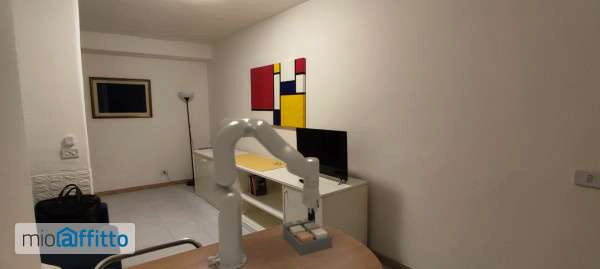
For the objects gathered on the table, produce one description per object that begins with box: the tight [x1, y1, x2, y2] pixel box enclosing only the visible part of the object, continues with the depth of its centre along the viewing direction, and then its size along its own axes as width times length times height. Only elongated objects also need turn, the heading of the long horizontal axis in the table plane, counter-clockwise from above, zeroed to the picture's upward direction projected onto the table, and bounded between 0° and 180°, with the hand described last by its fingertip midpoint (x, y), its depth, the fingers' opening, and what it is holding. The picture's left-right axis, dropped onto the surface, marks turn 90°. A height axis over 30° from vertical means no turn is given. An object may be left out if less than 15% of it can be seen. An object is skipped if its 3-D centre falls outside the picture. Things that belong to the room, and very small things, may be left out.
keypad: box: [282, 217, 333, 256], centre depth 136 cm, size 16×19×7 cm
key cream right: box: [311, 227, 328, 239], centre depth 132 cm, size 6×6×2 cm
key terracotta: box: [297, 231, 313, 243], centre depth 129 cm, size 6×6×2 cm
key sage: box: [304, 222, 320, 233], centre depth 139 cm, size 6×6×2 cm
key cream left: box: [290, 225, 305, 236], centre depth 136 cm, size 6×6×2 cm
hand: (311, 219), depth 139 cm, fingers closed
